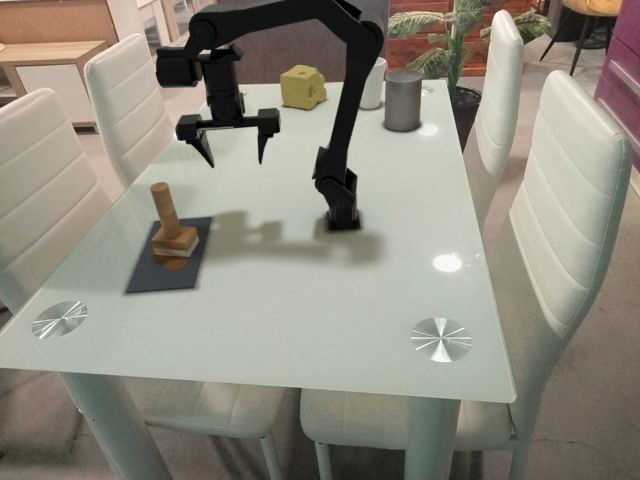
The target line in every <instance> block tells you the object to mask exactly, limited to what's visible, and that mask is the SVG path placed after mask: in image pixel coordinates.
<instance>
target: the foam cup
mask: <svg viewBox="0 0 640 480" xmlns="http://www.w3.org/2000/svg"><path fill="white" fill-rule="evenodd" d="M386 63H387V61H386V59H385V58H383V57H380V56H379V57H378V59H377V61H376V63H375V65H374V67H373V69H372V71H371V73H370V74H369V76H368V78H367V80H366V83H365V87H364V91H363V95H362V98H361V102H360V106H359V108H362V109H368V110H373V109H376V108H379V107H380V106H381V102H382V101H381V100H382V93H383V86H384V80H385V79H384V78H385V72H386V69H387V68H386Z"/></svg>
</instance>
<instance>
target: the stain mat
mask: <svg viewBox="0 0 640 480" xmlns="http://www.w3.org/2000/svg"><path fill="white" fill-rule="evenodd" d="M178 220H179V223H180V226H183V227H196V231H197V234H198V238H199V243H198V244H197V246H196V248H195V249H194V251H193V252H192V254H191V255H190V257H181V256H168V255H156V253H155V250H154V247H153V244H152V241H151V240H152V238H153V237H154V236H155V235H156V233H157V232H158V231H159V229H160V228H161V227H162V225H161V221H160V220H155V221H154V223H153V226H152V228H151V230H150V233H149V235H148V236H147V237H148V238H147V240H146V242H145V245H144V247H143V250H142V252H141V254H140V257H139V259H138V262H137V264H136V266H135V269H134V272H133V274H132V277H131V279H130V281H129V283H128V286H127V289H126V292H125V293H126V294H128V293H143V292H155V291H156V292H157V291H169V290H181V289H182V290H183V289H193V288H195V284H196V280H197V276H198V272H199V268H200V264H201V260H202V256H203V252H204V248H205V244H206V240H207V237H208V232H209V229H210V224H211V220H212V216H203V217H191V218H178Z"/></svg>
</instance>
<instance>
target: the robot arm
mask: <svg viewBox="0 0 640 480" xmlns="http://www.w3.org/2000/svg"><path fill="white" fill-rule="evenodd" d="M312 20H317V21H319V22H320V23H322V24H323V25H324V26H325V27H326V28H327V29H328V30H330V32H331V33H332V34H333V35H334V36H335V37H337V38H338V40H340V41H342V42H343V43H345V44H346V46H345V47H346V49H345V52H346V53H345V74H344V78H343V83H342V88H341V92H340V96H339V101H338V105H337V108H336V109H337V110H336V113H335V118H334V122H333V127H332V130H331V134H330V139H329V141H328V144H327V145H326V147H324V146H322V145H319V146H318V150H317V155H316V158H315V163H314V167H313V170H312V175H311V180H313V181H314V188H315V190H316V191H317V192H318V193H319V194H321V195H322V196H323V198H324V200H325V202H326V204H327V206H328V211H326V218H327V228H328V231H343V230H355V229H356V230H357V229H361V227H362V226H361V225H362V223H361V219H360V215H359V209H358V194H357V193H358V192H357V191H358V190H357V189H358V179H359V176H358V175H357V174H356V173H355V172H353V170H351V169H350V168H349V167H348V159H349V147H350V144H351V140H352V136H353V132H354V129H355V125H356V121H357V117H358V114H359V108H360V102H361V98H362V95H363V91H364V87H365V83H366V80H367V78H368V76H369V74H370V73H371V71H372V69H373V67H374V65H375V63H376V61H377V59H378V57H380V55H381V52H382V50H383V48H384V46H385V45H384V43H385V24H384V22H383V20H382V19H381V17H380V16H379V15H378V14H376V13H374V12H372V11H363V10H361V9H360V8H359V7H358V6H356V5H355V4H353V3H351V2H350V1H348V0H262V1H258V2H254V3H253V2H252V3H248V4H236V3H212V4H211V3H210V4H208V5H205V6H204V7H202V8H201V9H200V10H198V11H197V12H196V13H194V14H193V15H192V16H191V17H190V19H189V22H188V35H189V36H188V38H187V40H186V43H185V44H184V46H169V45H160V46H159V47H158V48H156V50H155V54H156V56H157V57H156V59H155V77H156V80H157V83H158V84H159V86H160V87H161V88H162V89H184V88H185V89H188V88H191V89H193V88H197V87H198V84H199V82H202V80H203V83H204V87H205V100H206V106H207V108H209V111H210V115H211V119H203V116H202V115H201V114H200V113H193V114H181V115H180V117H179V118H178V121H177V123H176V125H175V127H174V131H175V135H176V140H177V141H179V142H185V144H186V145H190V146H192V147H193V148H194V150H196V151H197V152H198V154H199V155H201V156H202V158H203V159H204V160H205V162H206V163H207V164H208V165H209V167H210V168H211V169H215V167H216V165H215V160H214V155H213V153H212V150H211V149H212V148H211V146H210V143H209V140H208V135H207V132H208V131H220V130H232V129H233V130H234V129H246V128H257V138H256V139H257V159H258V164H259V166H261V165H262V163H263V160H264V159H263V158H264V155H265V154H264V153H265V149H266V146H267V143H268V140H269V139H273V138H274V136H275V135H276V134H279V133H281V125H282V117H281V112H280V110H279V109H278V108H277V107H268V108H267V107H266V108H258V109H257V115H250V116H249V115H247V116H245V114H246V104H245V95H244V92H243V91H242V92H241V91H240V86H239V80H238V74H237V68H236V63H235V62H241V61H242V60H243V58H245V56H246V51H245V50H244V49H242V48H241V47H239V46H238V45H237V44H236V42H234V41H236V40H237V39H240V38H242V37H244V36H246V35H248V34H253V33H256V32H260V31H266V30H269V29H274V28H279V27H280V28H281V27H284V26H288V25H293V24H299V23H303V22H308V21H312ZM230 43H231V44H230ZM228 44H229V46H228V47H223V46H226V45H228ZM203 51H210V52H209V53H202V52H203Z"/></svg>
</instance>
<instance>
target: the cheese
mask: <svg viewBox="0 0 640 480" xmlns="http://www.w3.org/2000/svg"><path fill="white" fill-rule="evenodd" d="M279 76H280V79H279V80H280V95H281V99H282V103H283V106H286V107H291V108H297V109H303V110H308V111H309V110H311V109H313V108H314V107H316V106H317V104H319V103H322V102H324V101H325V100H327V97H328V96H327V95H328V93H327V88H326V87H325V84H326V79H325V76H324V75H323V74H321V73H320V71H319V70H318V68H316V67H312V66H308V65H305V64H296V65H295V66H293V67H292V68H290V69H289V70H288V71H285V72H284V73H282V74H280V75H279Z"/></svg>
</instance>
